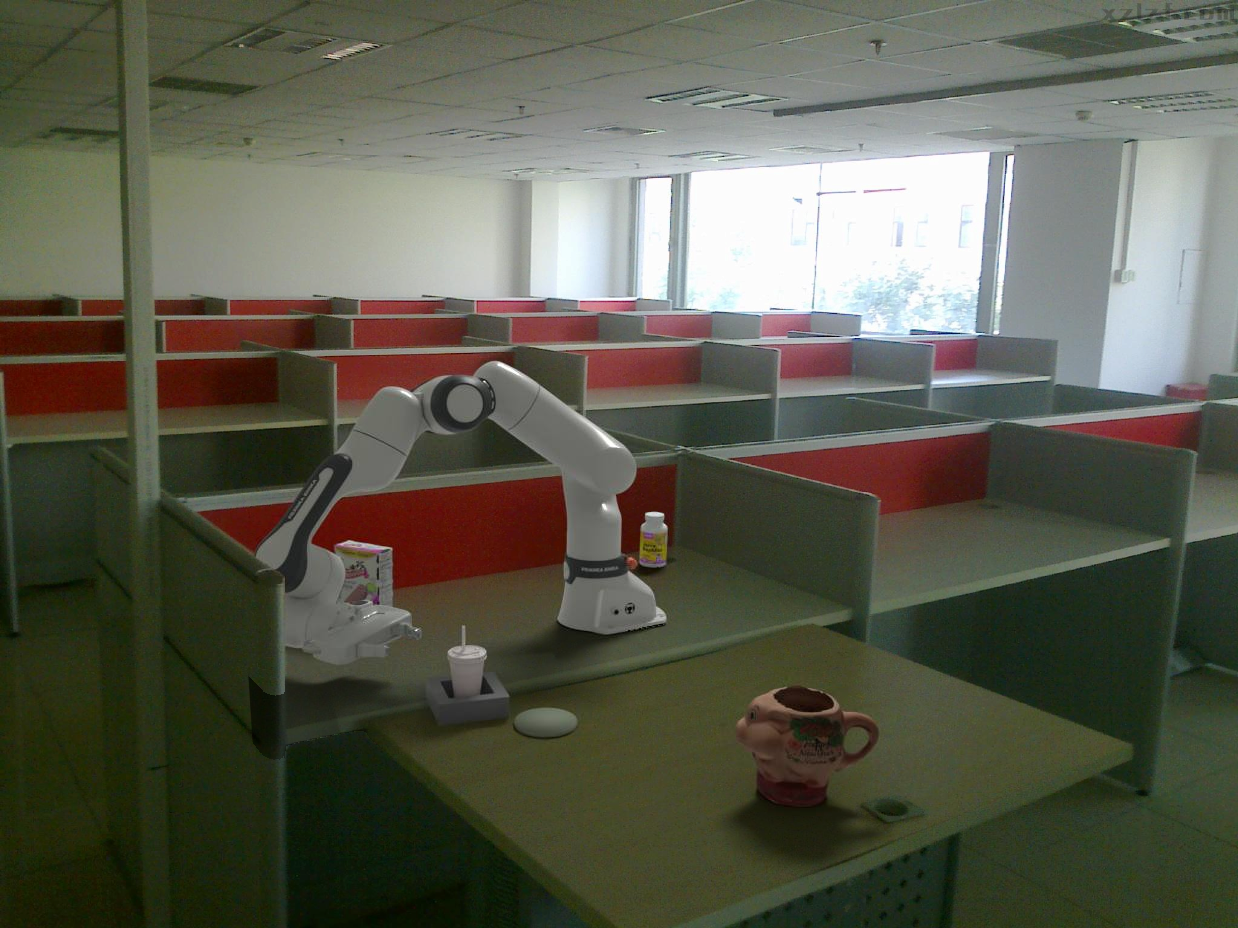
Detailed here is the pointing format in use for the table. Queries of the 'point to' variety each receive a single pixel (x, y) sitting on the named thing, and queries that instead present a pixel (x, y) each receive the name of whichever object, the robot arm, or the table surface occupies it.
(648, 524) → the supplement bottle
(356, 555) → the candy bar box
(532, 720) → the rubber pad
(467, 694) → the smoothie
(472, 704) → the socket collar
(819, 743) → the cartoon character mug
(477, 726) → the table surface
